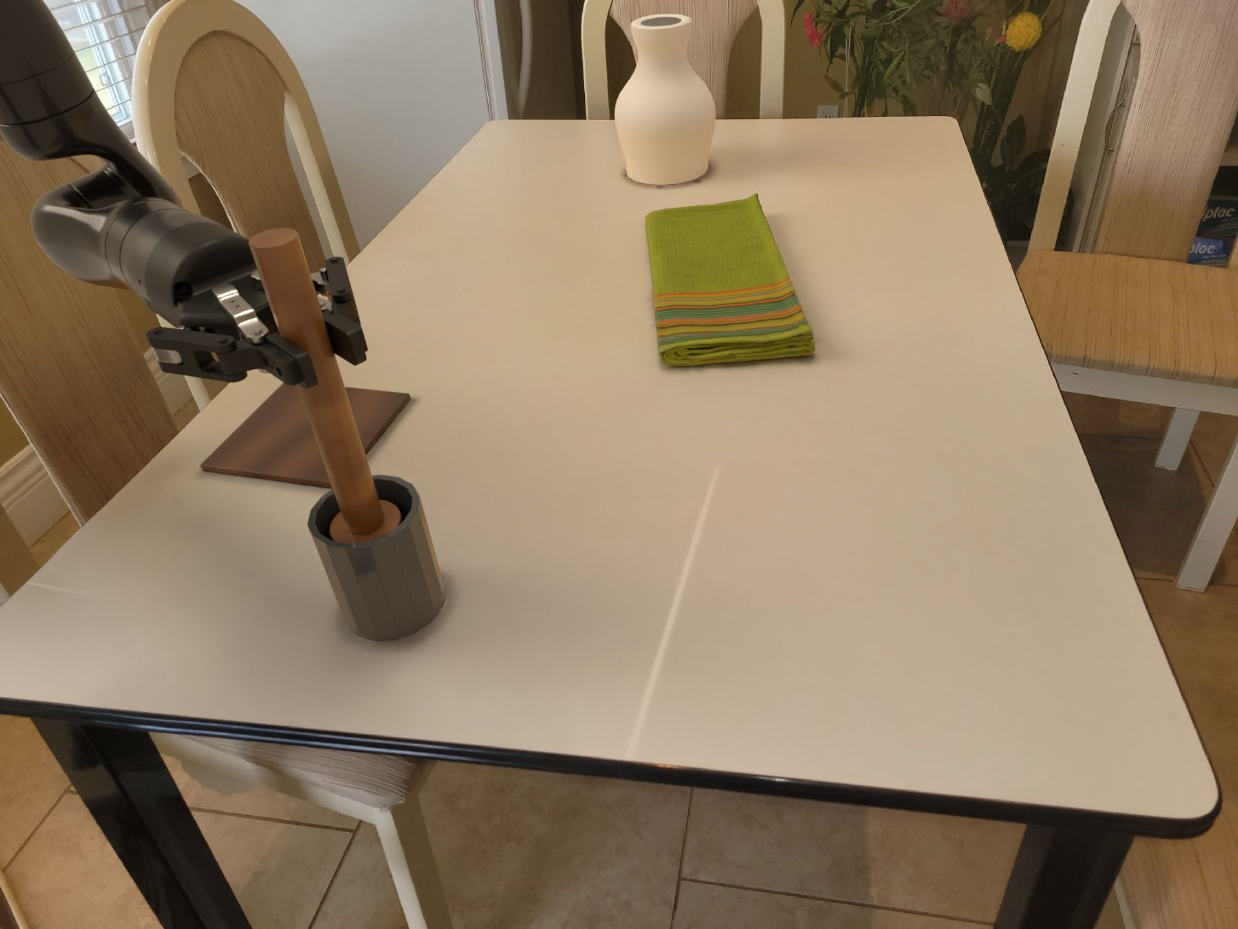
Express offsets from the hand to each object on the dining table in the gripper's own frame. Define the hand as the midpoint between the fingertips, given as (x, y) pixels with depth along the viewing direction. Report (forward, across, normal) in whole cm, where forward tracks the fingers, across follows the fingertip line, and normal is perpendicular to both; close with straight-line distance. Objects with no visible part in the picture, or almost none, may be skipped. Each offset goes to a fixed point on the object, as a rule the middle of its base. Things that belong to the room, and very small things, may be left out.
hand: (333, 360), depth 50 cm
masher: (-3, 0, +15) cm, 16 cm away
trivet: (-27, +7, +22) cm, 36 cm away
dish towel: (-16, +53, +22) cm, 60 cm away
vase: (-45, +76, +22) cm, 91 cm away
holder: (-3, 0, +22) cm, 22 cm away
